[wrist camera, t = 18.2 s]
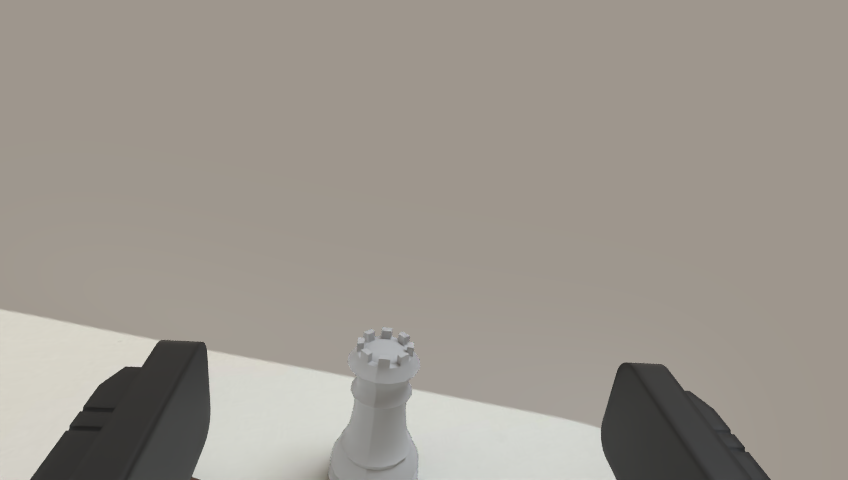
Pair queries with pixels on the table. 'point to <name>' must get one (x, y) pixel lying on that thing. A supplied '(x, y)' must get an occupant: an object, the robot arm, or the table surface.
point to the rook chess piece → (378, 412)
